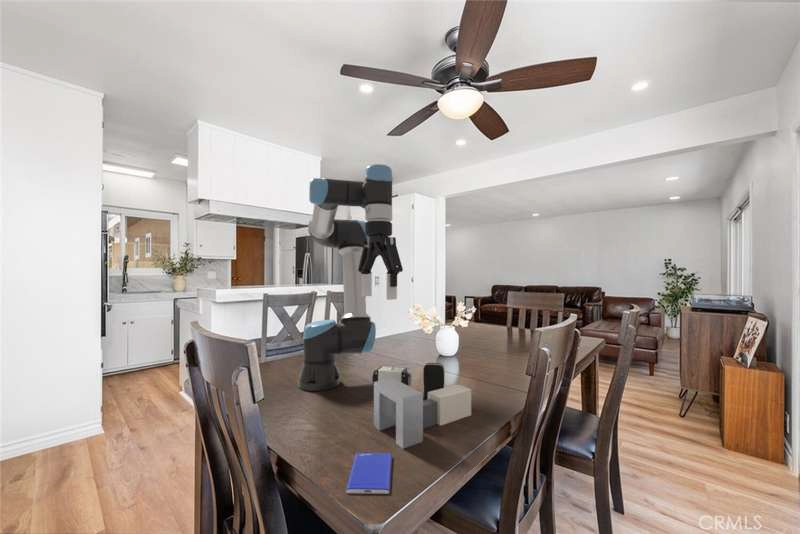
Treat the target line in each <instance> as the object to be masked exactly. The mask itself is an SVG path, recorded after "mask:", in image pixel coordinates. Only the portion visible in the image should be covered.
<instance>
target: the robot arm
mask: <svg viewBox="0 0 800 534" xmlns="http://www.w3.org/2000/svg"><path fill="white" fill-rule="evenodd" d="M364 178H365V179H364V181H361V180H360V181H359V180H348V179H347V180H346V179H334V178H325V177H321V178H319V177H317V178H316V177H312V178H311V179H310V180H309V187H308V188H309V189H308V191H309V193H308V194H309V196H308V198H309V199H308V200H309V202H310V204H313V211H312V217H311V218H310V220H309V221H308V225H307V227H308V234H309V235H310V237H311V238H312V240H313V241H315V243H317V244H319V245H320V246H322V247H325V248H326V247H327V248H333V249H334V248H335V249H336V248H337V249H338V253H339V254H340V255H341V257H342V278H343V279H342V280H343V283H342V284H343V310H344V312H343V315H342V317H340V323H337V322H336V320H334V319H323V320H316V321H313V322H310V323H308V324H306V325H305V326H304V328H303V336H302V339H303V364H302V367H301V371H300V374H299V375H298V382H297V386H298V388H299V389H300V390H303V391H309V392H320V391H327V390H331V389H334V388H336V387H339V385H340V384H341V376H340V373H339V369H338V367H337V364H336V356H340V355H341V356H342V355H343V356H344V355H354V354H357V355H358V354H360V355H361V354H368V353H370V352H371V351H372V350H373V349H374V346H375V342H376V336H377V335H376V333H377V328H376V323H375V322H374V321H372V319H371V316H370V315H369V314H368V313H367V302H366V300H367V298H366V297H372V295H373V294H372V293H373V292H372V287H373V286H372V282H373V281H372V280H373V279H372V277H373V275H372V269H373V266H374V264H375V261H376V259H377V258H378V257H379V256H380V257H381V259H382V261H383V264H384V266H385V269H386V270H387V272H386V300H387V301H389V300H391V301H392V300H397V299H398V291H397V290H398V275H399V273H402V272H403V265H402V262H401V259H400V254H399V251H398V247H397V242H396V241H397V240H396V237H395V236H394V237H393V236H392V235H393V223H392V221H393V180H394V179H393V171H392V168H391V167H390V166H389V165H387V164H381V163H380V164H379V163H377V164H371V165H368V166H367V167H366V168H365V175H364ZM339 206H344V207H346V206H347V207H361V208H362V209H364V212H365V215H364V216H365V220H366V221H365V220H358V219H335V218H336V215H337V211H338V208H339Z"/></svg>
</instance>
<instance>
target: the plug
mask: <svg viewBox="0 0 800 534" xmlns="http://www.w3.org/2000/svg"><path fill="white" fill-rule="evenodd" d="M471 416H472V389H471V388H469V387H466V386H464V385H462V384H461V385H460V384H454V385H451V386H446V387H444V388H442V389H438V390H434V391H430V392H428V399H425V400H424V399H423V430H424V429H426V428H431V427H432V426H436V425H438V426H444V425H446V424H449V423H452V422H455V421H459V420H462V419H464V417H465V418H466V417H471ZM461 418H462V419H461Z"/></svg>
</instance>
